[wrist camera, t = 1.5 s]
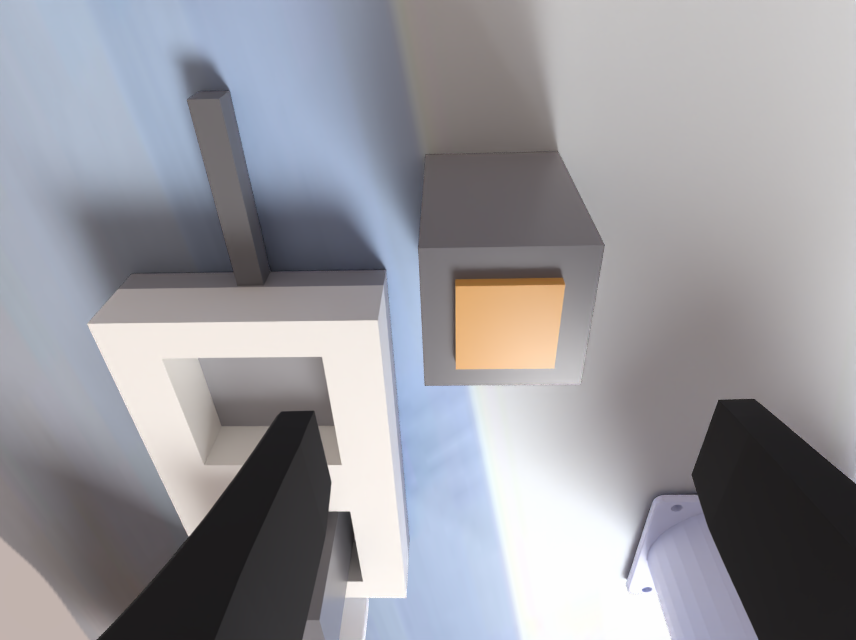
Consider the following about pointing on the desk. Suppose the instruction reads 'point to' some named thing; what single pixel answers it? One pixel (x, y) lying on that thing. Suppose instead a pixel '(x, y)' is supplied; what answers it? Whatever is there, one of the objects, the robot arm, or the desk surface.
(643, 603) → the desk surface
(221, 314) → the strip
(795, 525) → the robot arm
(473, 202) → the plug
